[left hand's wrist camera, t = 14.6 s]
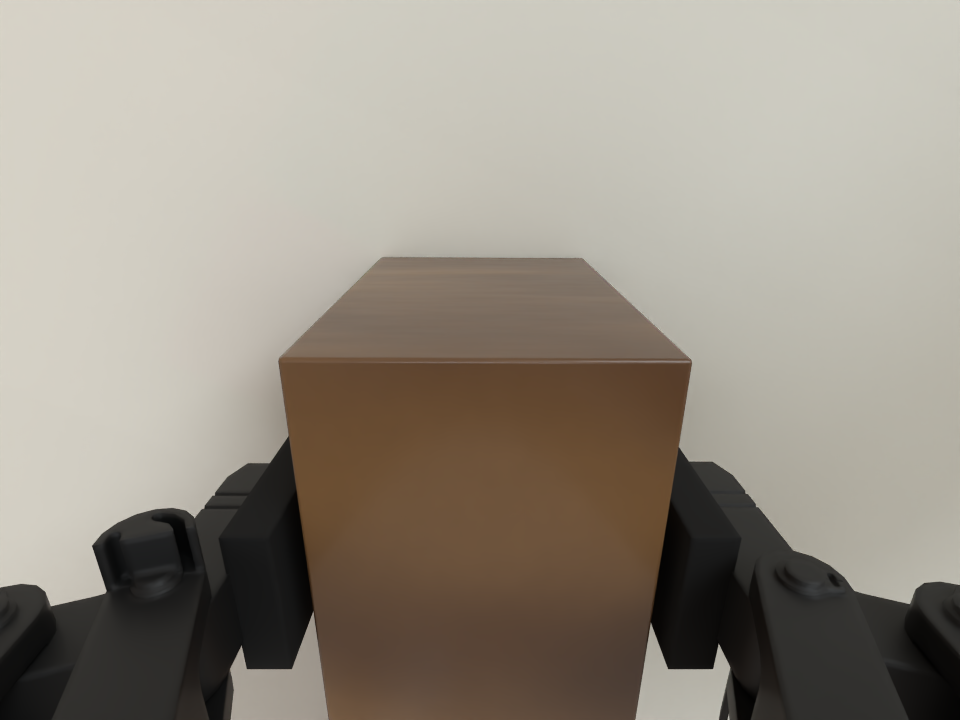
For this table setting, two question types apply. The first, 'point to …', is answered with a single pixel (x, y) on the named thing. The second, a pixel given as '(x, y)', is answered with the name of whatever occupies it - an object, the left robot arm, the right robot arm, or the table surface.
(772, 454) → the table surface
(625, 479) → the beam
